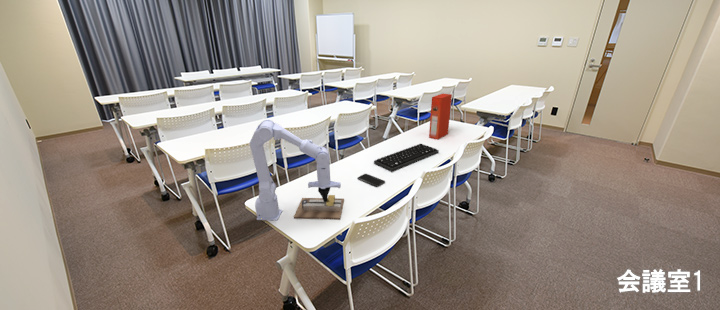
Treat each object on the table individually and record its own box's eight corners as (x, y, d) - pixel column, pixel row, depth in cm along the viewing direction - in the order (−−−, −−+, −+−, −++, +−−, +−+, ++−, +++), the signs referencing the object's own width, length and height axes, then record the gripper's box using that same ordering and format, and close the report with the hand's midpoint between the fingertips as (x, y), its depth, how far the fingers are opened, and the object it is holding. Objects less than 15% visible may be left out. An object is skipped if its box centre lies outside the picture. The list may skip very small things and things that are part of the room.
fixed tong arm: (300, 211, 133) (300, 204, 132) (303, 205, 137) (302, 199, 136) (340, 211, 132) (339, 205, 131) (341, 206, 136) (341, 200, 135)
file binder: (428, 137, 226) (432, 97, 213) (438, 132, 238) (442, 93, 225) (438, 139, 221) (442, 98, 209) (447, 134, 233) (452, 94, 221)
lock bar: (326, 205, 131) (326, 202, 130) (328, 198, 136) (328, 195, 136) (333, 205, 130) (332, 202, 130) (335, 198, 136) (334, 195, 136)
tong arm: (309, 207, 136) (308, 201, 135) (310, 204, 138) (309, 199, 136) (341, 207, 135) (340, 202, 134) (341, 205, 137) (341, 200, 136)
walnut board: (293, 218, 130) (293, 216, 129) (302, 199, 144) (302, 197, 144) (340, 219, 128) (340, 217, 128) (344, 200, 143) (344, 198, 143)
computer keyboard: (391, 173, 171) (391, 167, 170) (373, 164, 183) (373, 159, 181) (438, 153, 197) (438, 148, 196) (420, 147, 209) (420, 142, 207)
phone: (377, 186, 154) (356, 177, 163) (377, 188, 155) (356, 179, 164) (386, 181, 159) (365, 173, 169) (386, 183, 160) (365, 174, 169)
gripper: (305, 178, 125) (308, 205, 130) (338, 178, 124) (340, 205, 129) (309, 171, 131) (311, 197, 136) (340, 171, 130) (341, 197, 136)
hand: (325, 200), depth 133 cm, fingers closed
